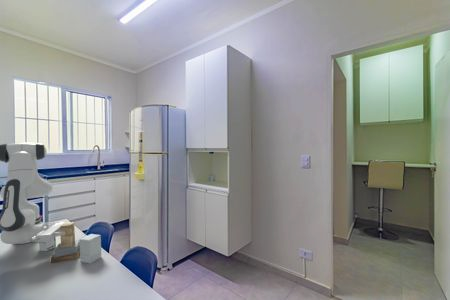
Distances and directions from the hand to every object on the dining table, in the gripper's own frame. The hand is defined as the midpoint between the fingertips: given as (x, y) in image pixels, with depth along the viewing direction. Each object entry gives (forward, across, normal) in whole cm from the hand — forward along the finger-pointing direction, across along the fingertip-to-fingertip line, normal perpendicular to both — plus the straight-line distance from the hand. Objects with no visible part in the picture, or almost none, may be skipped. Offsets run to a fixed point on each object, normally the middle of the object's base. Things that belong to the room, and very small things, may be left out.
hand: (69, 229), depth 122 cm
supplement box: (+13, -9, +15) cm, 22 cm away
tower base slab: (-1, 0, +16) cm, 16 cm away
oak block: (0, 0, +9) cm, 9 cm away
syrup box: (-17, +14, +15) cm, 27 cm away
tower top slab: (-1, -1, +12) cm, 12 cm away
